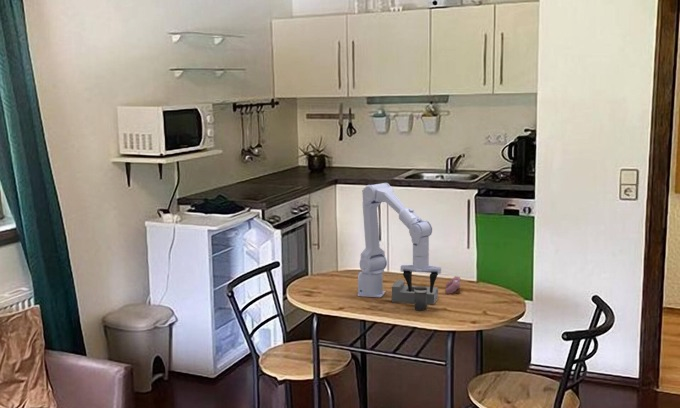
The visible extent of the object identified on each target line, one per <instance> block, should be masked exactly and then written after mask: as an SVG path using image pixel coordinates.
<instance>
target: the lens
mask: <svg viewBox="0 0 680 408" xmlns="http://www.w3.org/2000/svg"><path fill="white" fill-rule="evenodd" d="M416 286H417V287H415V288H414V292H415V304H414V310H415V311H418V312H423V311H424V312H425V311H427V309H428V307H427V305H428V304H427V287H428V286H426V287H424V286H423V285H422V286H421V285H416Z"/></svg>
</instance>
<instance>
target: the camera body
mask: <svg viewBox="0 0 680 408" xmlns="http://www.w3.org/2000/svg"><path fill="white" fill-rule="evenodd" d="M405 282H406V280H405V279H396V280H395V282H393V284H392V286H391V303H401V304H413V305H415V292H414V288H415V287H417V286H418V285H412V291H411V292H409V289H408V285H407V284H405ZM424 287H427V305H428V306H429V305H430V306H435V304H436V303H437V300H438V298H439V287H438V286H433V292H432V293H430V286H424Z"/></svg>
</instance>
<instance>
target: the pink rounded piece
mask: <svg viewBox="0 0 680 408" xmlns="http://www.w3.org/2000/svg"><path fill="white" fill-rule="evenodd" d="M460 281H461V277H460V276H454V277H453V278H452V279H451V280H449V281H448V282H447V283H446V284H445V287H446V289H445V290H444V293H445V294H446V295H450V294H452V293H455V292H456V291H457V290H458V289H460V288H461V285H460V284H461V282H460Z"/></svg>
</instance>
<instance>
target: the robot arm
mask: <svg viewBox="0 0 680 408" xmlns="http://www.w3.org/2000/svg"><path fill="white" fill-rule="evenodd" d="M361 195H362V214H363V215H362V216H363V230H364V242H365V244H364V245H365V248H364V250H363V251H361V252H360V260H359V268H360V272H359V273H358V277H357V296H358V297H365V298H366V297H368V298H382V297H383V296H384V295H385V293H386V290H384V288H383V285H384V284H383V283H384V281H383V280H384V279H383V278H384V277H383V275H384V274H383V273H384V272H385V269H386V268H387V265H388V261H387V257H386V255H385V250H383V249H382V248H381V247H380V235H379V234H380V233H379V232H380V231H379V217H378V207H379V206H380V205H381V204H382V203H386V204H387V206H389V207H390V208H392V210H394V212H395V213H397V214H398V220H399V221H400V222H401V223H402V224H403V225H404V226H405V227H406V228H407V229H408V233H409V236H410V239H411V242H412V264H409V265H407V264H406V265H405V264H402V265H400V272H401V273H403V274H402V276H403V277H404V280H405V282H406V285H408V289H409V292H411V291H412V286H413V284H412V277H413V274H412V273H426V274H427V273H429V287H430V293H432V292H433V287H435V283H436V280H437V277H438V276H439V275H440V274H441V273H442V266H441V267H440V266H433V265H430V264H429V263H430V261H429V260H430V257H429V256H430V253H429V251H430V249H429V248H430V243H429V242H430V240H429V239H430V236H431V235H432V233H433V226H432V224H431V223H430V221H428V220H424V219H422V217H420V216H419V215H418V214H417V213H416V212H415V210H414V209H413V208H411V207H406V206H405V205H404V204H403V202H402V201H401V200H400V199H399V198H398V197H397V195H396V193H394V188H393V187H392V186H391V185H390V184H389V183H388V182H382V183H376V184H367V185H366V186H365V187H364V188H363V189H362V194H361Z"/></svg>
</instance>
